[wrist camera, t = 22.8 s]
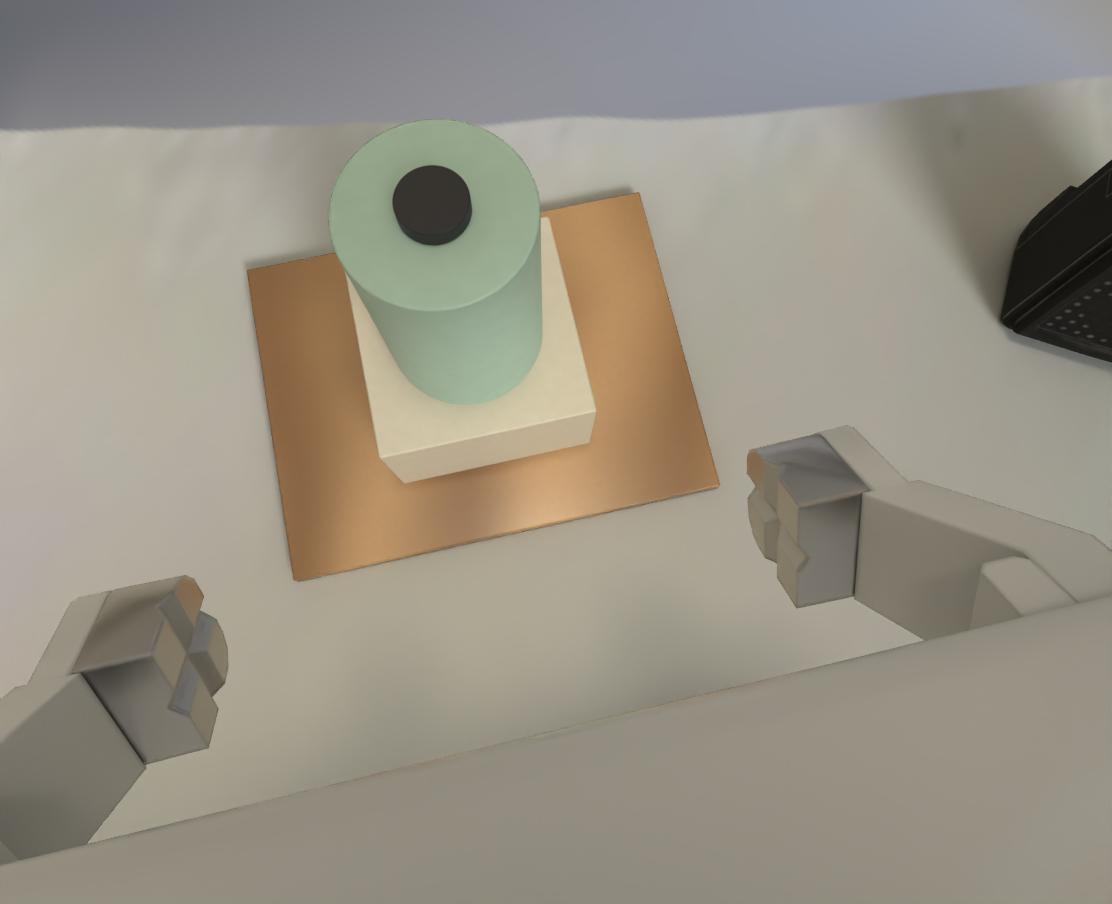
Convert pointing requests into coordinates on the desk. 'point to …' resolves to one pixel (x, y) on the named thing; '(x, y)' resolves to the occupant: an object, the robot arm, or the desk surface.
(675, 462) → the cork mat
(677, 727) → the robot arm
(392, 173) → the blender
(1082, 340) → the portable radio
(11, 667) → the desk surface
